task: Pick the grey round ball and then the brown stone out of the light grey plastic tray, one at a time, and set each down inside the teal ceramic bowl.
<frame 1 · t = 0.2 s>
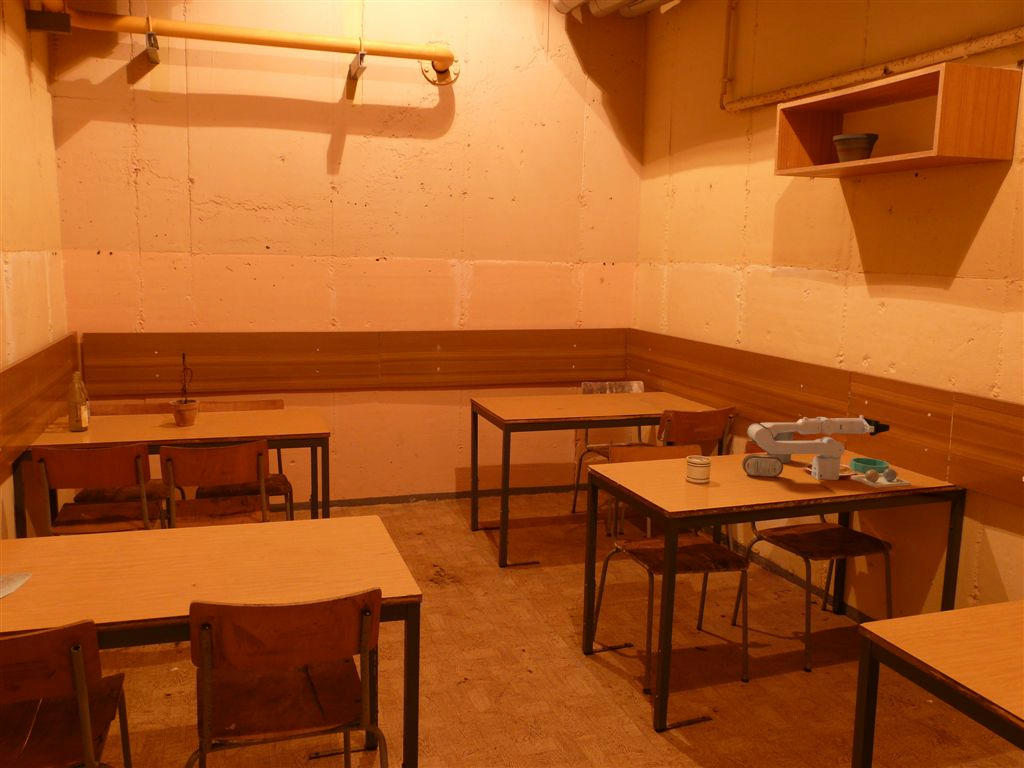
hand: (884, 425, 312), 21 cm above the table, tool horizontal, fingers open, 7 cm apart
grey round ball: (889, 480, 312), point 1 cm above the table, touching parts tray
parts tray: (880, 483, 311), on the table
teal bowl: (868, 471, 328), on the table
tin: (761, 476, 315), on the table
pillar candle: (778, 461, 341), on the table
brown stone: (871, 482, 309), point 1 cm above the table, touching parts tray
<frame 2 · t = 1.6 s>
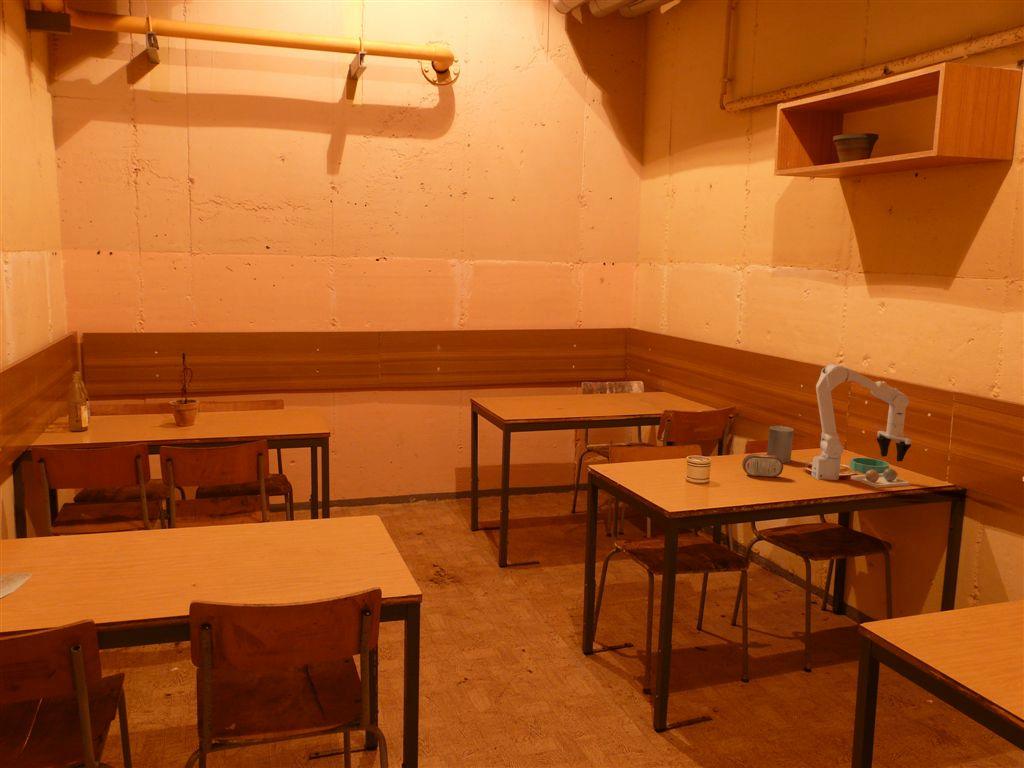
hand: (891, 458, 311), 9 cm above the table, tool pointing down, fingers open, 7 cm apart
nothing on the table moved.
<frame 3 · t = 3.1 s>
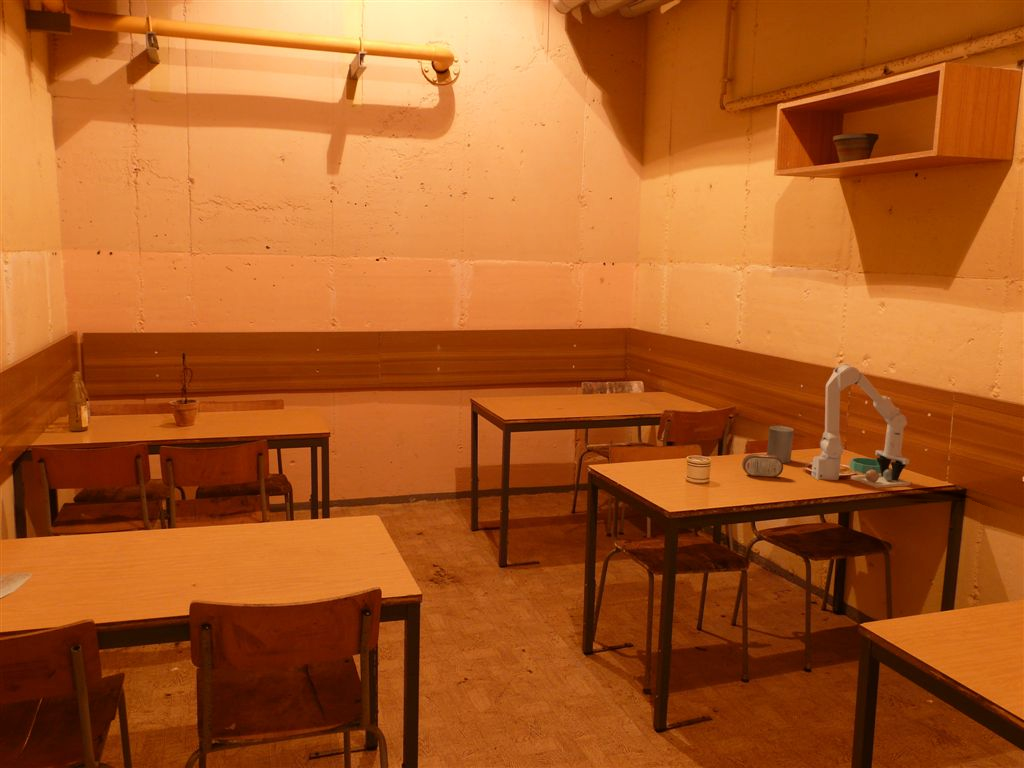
hand: (889, 478, 312), 2 cm above the table, tool pointing down, fingers closed on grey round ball, 5 cm apart
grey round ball: (889, 480, 312), point 1 cm above the table, touching gripper, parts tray
everything else where it was.
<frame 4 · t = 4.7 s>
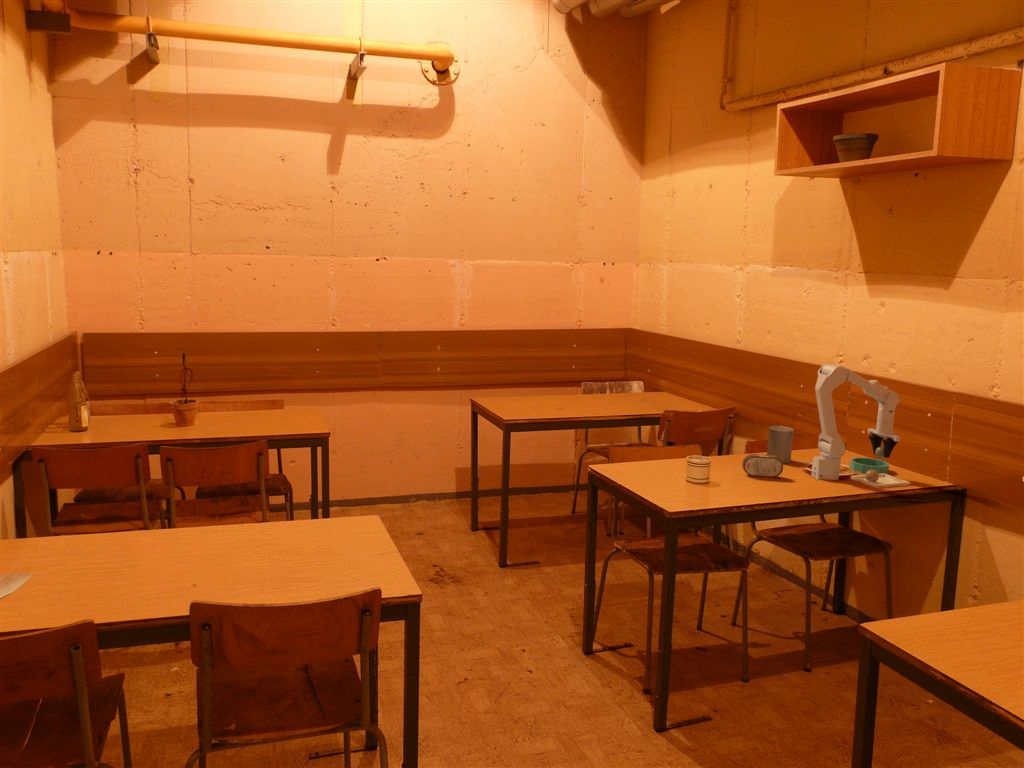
hand: (881, 455, 316), 9 cm above the table, tool pointing down, fingers closed on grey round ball, 5 cm apart
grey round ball: (881, 458, 316), point 8 cm above the table, touching gripper
everything else where it was.
when the fingers open (4 cm above the table, at t = 6.7 s): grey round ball drops 2 cm, resting on teal bowl.
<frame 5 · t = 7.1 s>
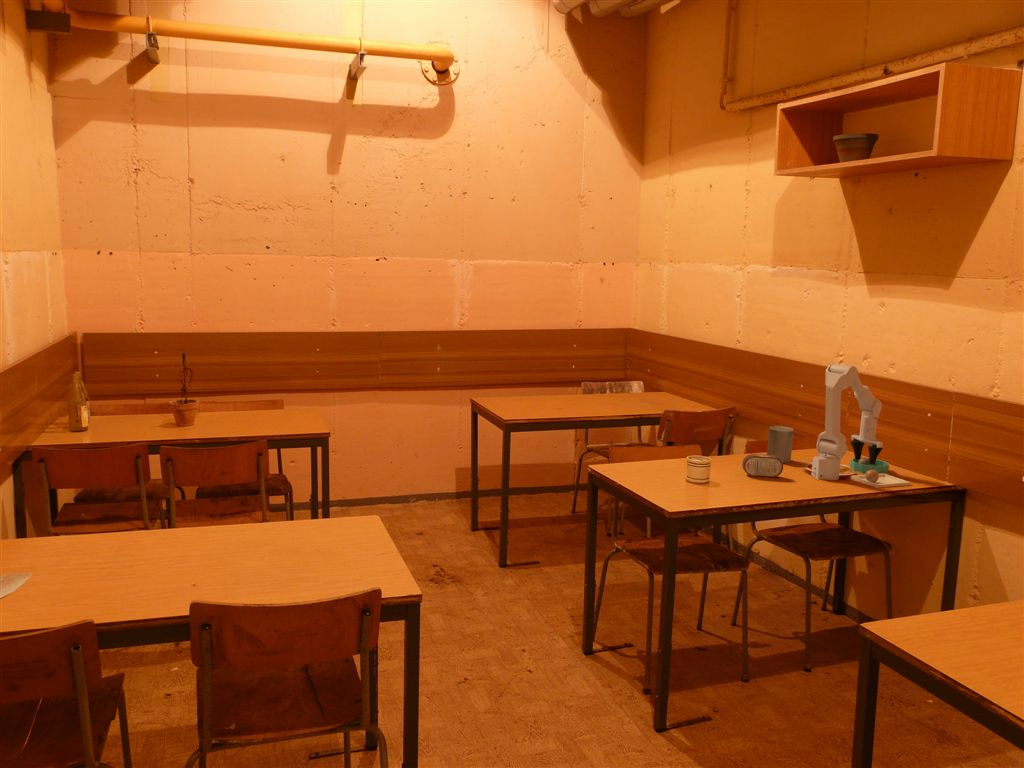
hand: (864, 461, 326), 4 cm above the table, tool pointing down, fingers open, 7 cm apart
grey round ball: (864, 469, 327), point 1 cm above the table, touching teal bowl
everything else where it was.
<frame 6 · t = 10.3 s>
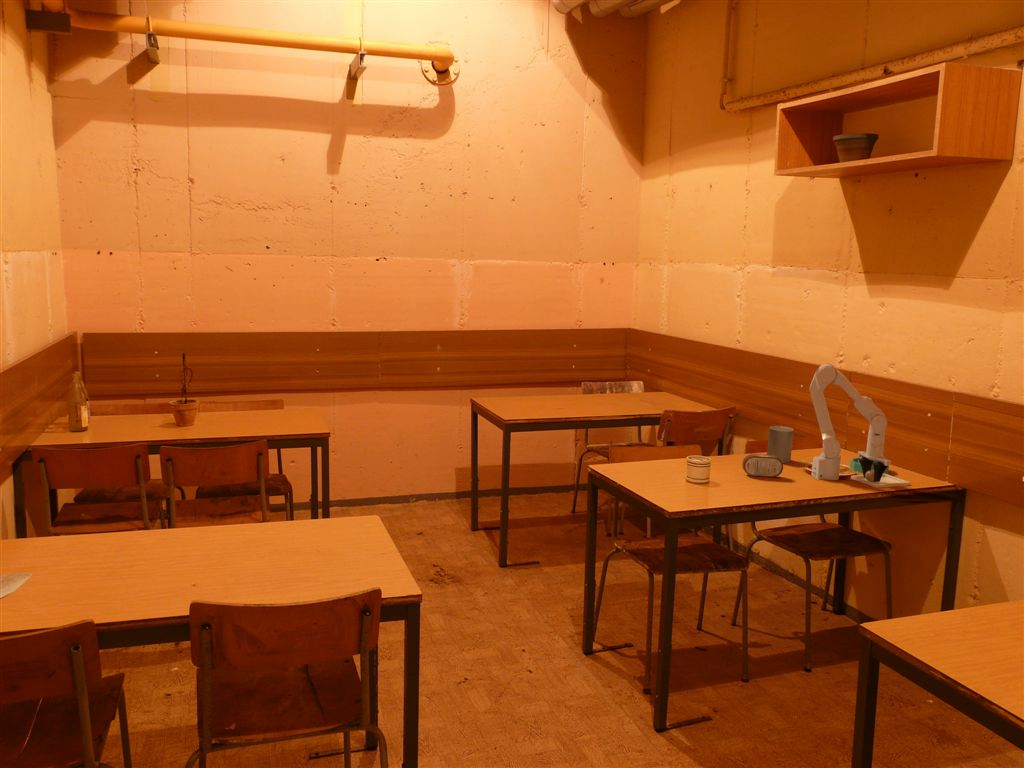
hand: (871, 479, 309), 2 cm above the table, tool pointing down, fingers closed on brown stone, 5 cm apart
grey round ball: (864, 469, 327), point 1 cm above the table, tilted 14°, touching teal bowl
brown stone: (871, 482, 309), point 1 cm above the table, touching gripper, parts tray
everything else where it was.
when the fingers open (4 cm above the table, at t = 14.4 s): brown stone drops 2 cm and tips over, resting on teal bowl.
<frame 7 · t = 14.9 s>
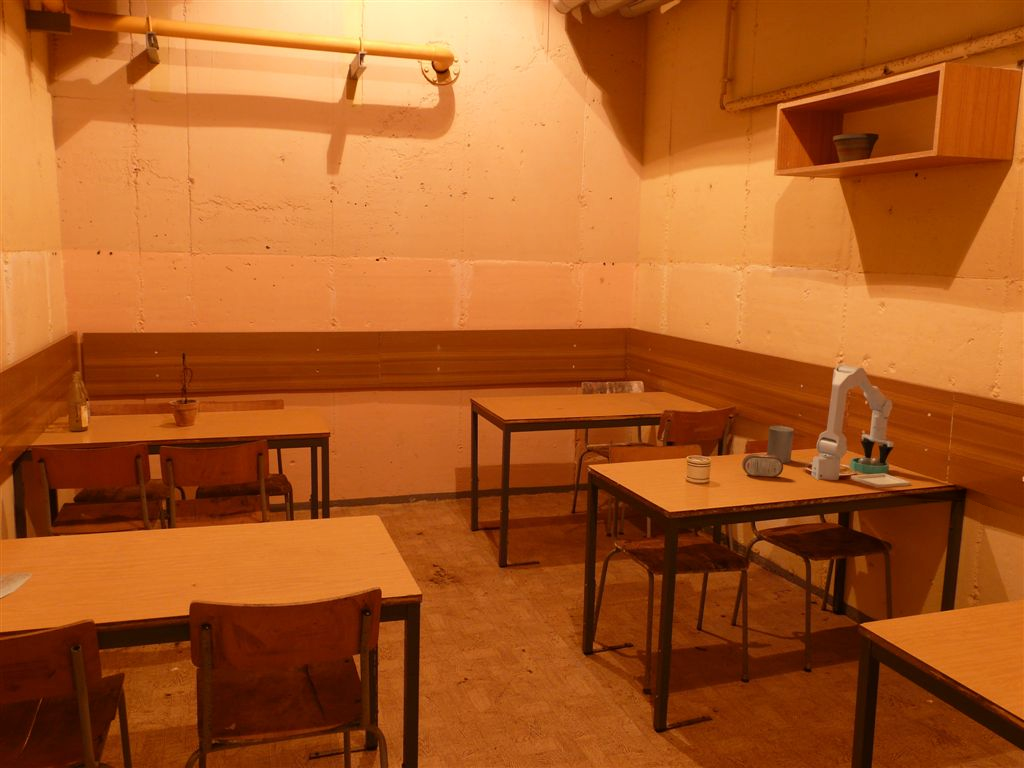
hand: (875, 460, 328), 4 cm above the table, tool pointing down, fingers open, 7 cm apart
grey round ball: (864, 468, 327), point 1 cm above the table, tilted 30°, touching teal bowl
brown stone: (873, 468, 328), point 1 cm above the table, tilted 34°, touching teal bowl
everything else where it was.
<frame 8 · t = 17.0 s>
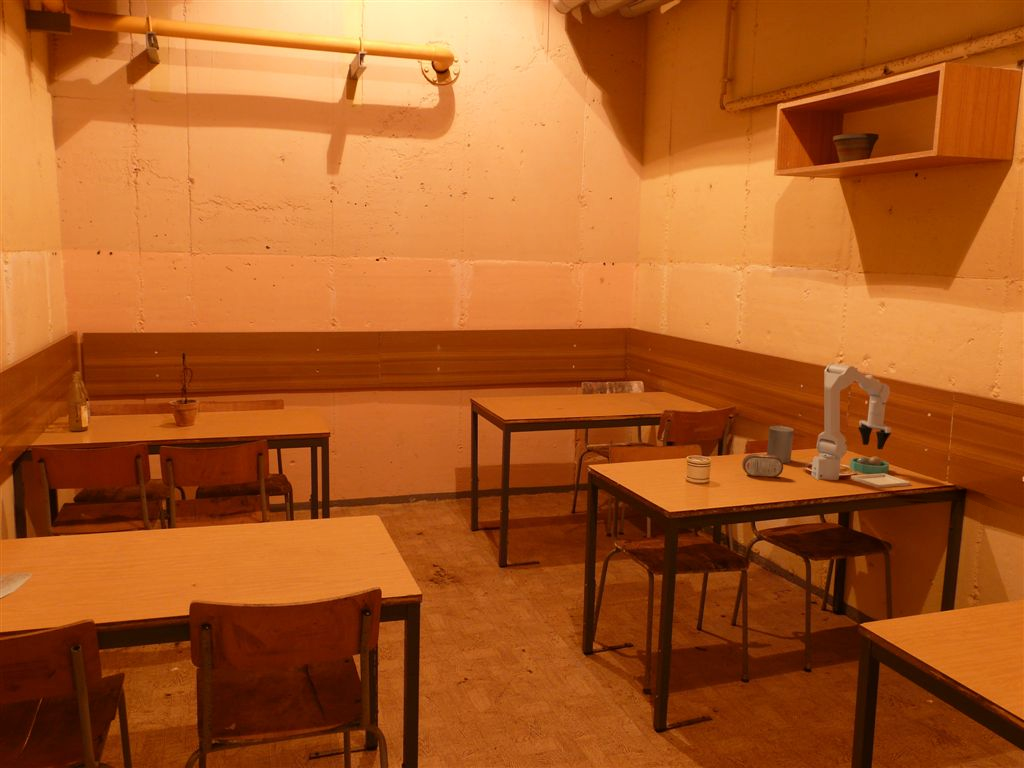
hand: (872, 446, 325), 10 cm above the table, tool pointing down, fingers open, 7 cm apart
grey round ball: (864, 467, 327), point 2 cm above the table, tilted 47°, touching teal bowl
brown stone: (873, 467, 328), point 2 cm above the table, tilted 45°, touching teal bowl
everything else where it was.
at the end: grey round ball inside the target area on the teal bowl (2.5 cm from its centre), point 1.8 cm above the teal bowl's base; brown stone inside the target area on the teal bowl (2.2 cm from its centre), point 1.7 cm above the teal bowl's base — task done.
